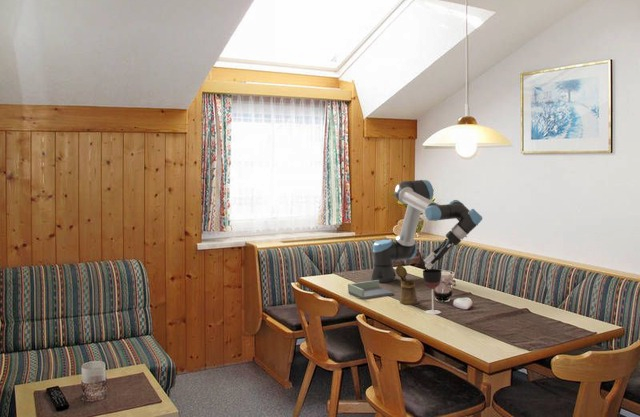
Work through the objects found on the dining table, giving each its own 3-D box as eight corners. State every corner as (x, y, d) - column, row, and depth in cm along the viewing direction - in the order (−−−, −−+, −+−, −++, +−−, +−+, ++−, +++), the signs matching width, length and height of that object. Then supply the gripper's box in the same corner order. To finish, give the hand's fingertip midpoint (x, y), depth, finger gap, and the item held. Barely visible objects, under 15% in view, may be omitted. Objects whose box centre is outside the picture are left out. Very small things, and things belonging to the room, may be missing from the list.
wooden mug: (407, 297, 316) (406, 263, 314) (421, 303, 303) (420, 268, 302) (392, 299, 312) (391, 265, 311) (405, 305, 300) (405, 270, 298)
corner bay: (378, 288, 338) (378, 279, 337) (393, 294, 323) (393, 285, 323) (348, 293, 330) (348, 284, 329) (362, 299, 315) (362, 290, 315)
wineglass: (421, 310, 291) (420, 269, 289) (439, 309, 291) (438, 268, 289) (426, 314, 283) (425, 273, 281) (444, 313, 283) (443, 272, 281)
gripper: (463, 244, 288) (432, 275, 292) (459, 236, 313) (430, 265, 316) (452, 233, 288) (421, 264, 292) (448, 226, 313) (420, 255, 317)
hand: (426, 264), depth 304 cm, fingers open, 13 cm apart
